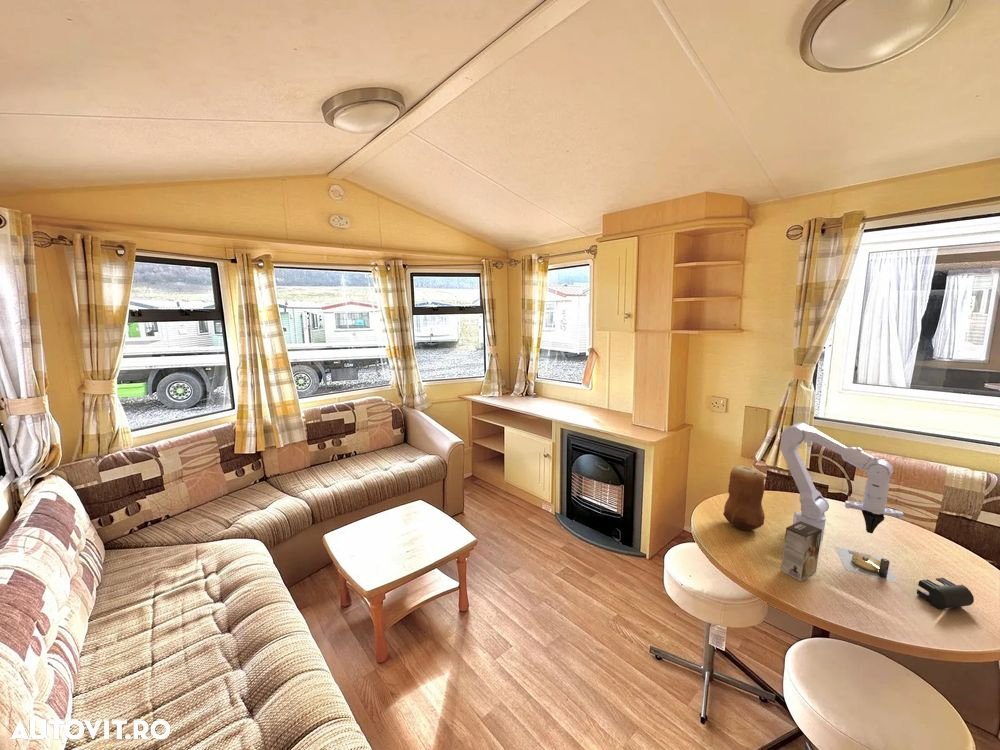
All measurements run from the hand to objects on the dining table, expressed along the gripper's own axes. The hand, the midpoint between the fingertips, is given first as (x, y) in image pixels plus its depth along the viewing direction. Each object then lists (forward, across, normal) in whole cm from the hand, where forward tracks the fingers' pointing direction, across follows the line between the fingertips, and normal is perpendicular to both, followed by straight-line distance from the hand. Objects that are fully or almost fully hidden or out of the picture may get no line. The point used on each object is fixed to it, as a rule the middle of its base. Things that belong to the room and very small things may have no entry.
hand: (869, 531), depth 138 cm
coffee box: (+10, -21, -21) cm, 32 cm away
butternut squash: (+10, -37, +1) cm, 38 cm away
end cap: (+10, +14, -17) cm, 25 cm away
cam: (+9, 0, -8) cm, 12 cm away
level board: (+10, -1, -6) cm, 12 cm away
